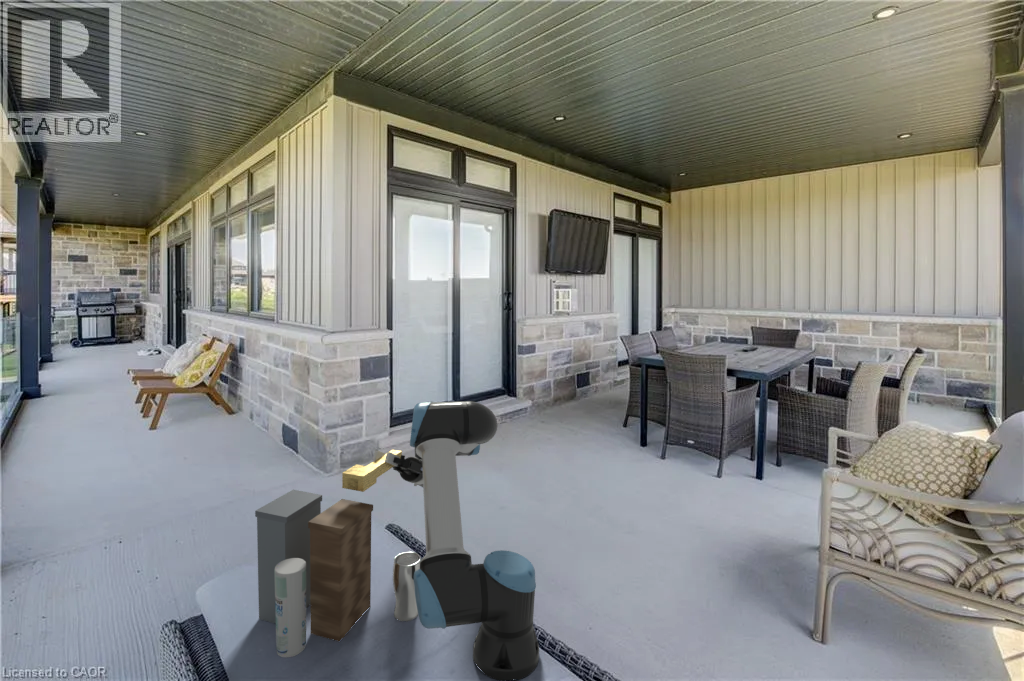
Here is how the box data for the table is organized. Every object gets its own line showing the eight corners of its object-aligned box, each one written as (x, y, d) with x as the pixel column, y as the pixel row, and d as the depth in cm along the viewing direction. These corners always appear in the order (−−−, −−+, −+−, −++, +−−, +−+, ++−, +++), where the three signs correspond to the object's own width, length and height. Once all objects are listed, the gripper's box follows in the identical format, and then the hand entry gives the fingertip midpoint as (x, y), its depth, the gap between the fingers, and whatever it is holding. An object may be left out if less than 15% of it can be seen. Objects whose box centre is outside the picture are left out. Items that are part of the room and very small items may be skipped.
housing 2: (341, 600, 131) (342, 498, 128) (372, 607, 129) (373, 504, 125) (308, 633, 119) (308, 521, 115) (341, 642, 116) (341, 528, 113)
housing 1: (294, 588, 135) (293, 489, 132) (322, 595, 133) (322, 495, 129) (257, 618, 123) (255, 510, 119) (287, 627, 120) (286, 517, 117)
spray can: (310, 649, 114) (310, 567, 111) (280, 662, 109) (279, 577, 107) (301, 633, 119) (301, 554, 116) (272, 645, 114) (270, 563, 112)
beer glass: (413, 625, 123) (414, 568, 121) (387, 620, 124) (388, 564, 123) (424, 607, 130) (425, 553, 128) (399, 602, 131) (400, 549, 129)
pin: (363, 491, 123) (363, 476, 123) (342, 488, 125) (342, 472, 124) (406, 461, 144) (406, 448, 144) (387, 458, 146) (388, 445, 145)
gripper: (435, 486, 153) (404, 474, 133) (389, 478, 158) (351, 465, 137) (441, 462, 156) (411, 446, 135) (395, 455, 161) (359, 438, 140)
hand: (381, 456), depth 136 cm, fingers closed on pin, 3 cm apart
